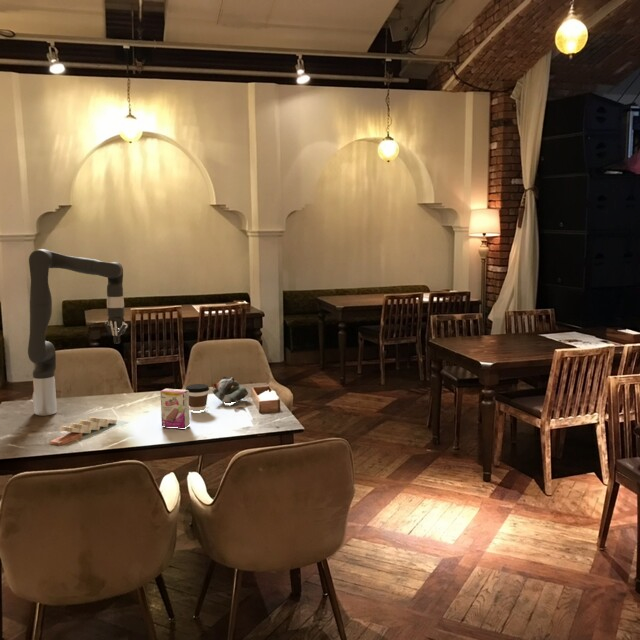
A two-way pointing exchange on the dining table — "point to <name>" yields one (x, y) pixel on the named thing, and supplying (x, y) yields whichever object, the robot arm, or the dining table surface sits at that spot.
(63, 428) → the domino
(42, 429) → the dining table surface
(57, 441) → the domino
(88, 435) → the domino board
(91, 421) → the domino
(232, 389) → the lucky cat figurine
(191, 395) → the coffee cup
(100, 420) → the domino
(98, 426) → the domino
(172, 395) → the candy bar box
